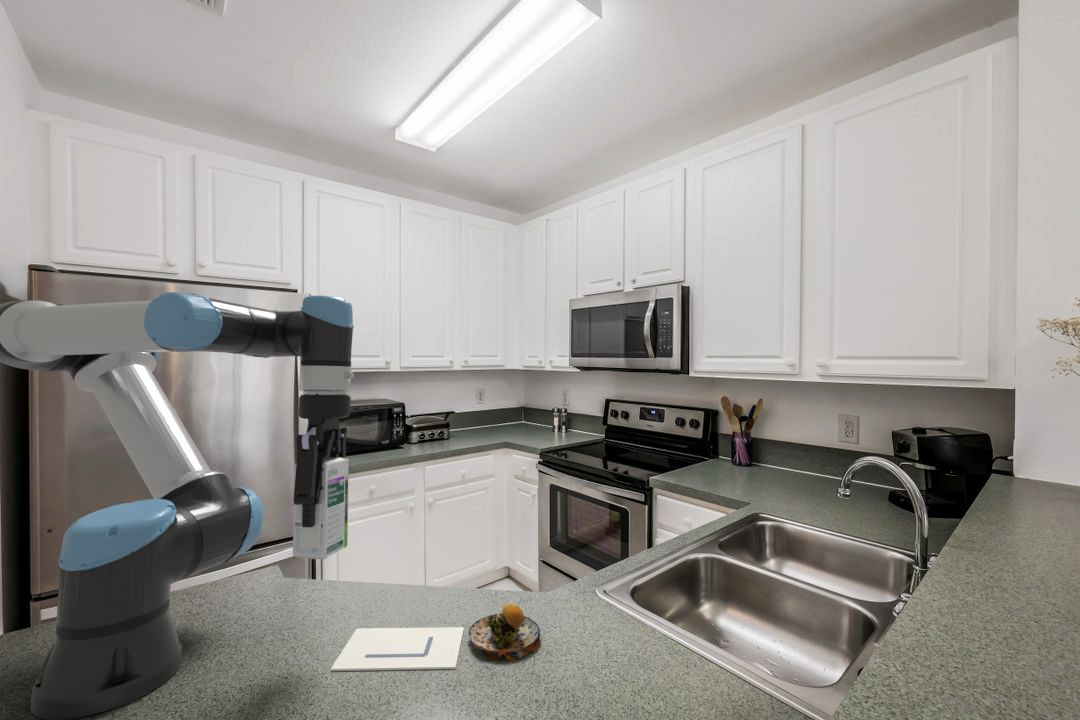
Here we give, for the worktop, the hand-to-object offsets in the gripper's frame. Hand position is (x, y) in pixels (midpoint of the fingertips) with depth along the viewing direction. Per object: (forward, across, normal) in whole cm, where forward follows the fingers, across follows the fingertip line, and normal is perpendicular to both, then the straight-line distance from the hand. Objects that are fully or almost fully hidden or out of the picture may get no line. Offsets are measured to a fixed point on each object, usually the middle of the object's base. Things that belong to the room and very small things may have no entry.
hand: (320, 539), depth 72 cm
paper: (+17, 0, -13) cm, 22 cm away
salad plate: (+18, +2, -29) cm, 34 cm away
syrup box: (+2, 0, 0) cm, 2 cm away
